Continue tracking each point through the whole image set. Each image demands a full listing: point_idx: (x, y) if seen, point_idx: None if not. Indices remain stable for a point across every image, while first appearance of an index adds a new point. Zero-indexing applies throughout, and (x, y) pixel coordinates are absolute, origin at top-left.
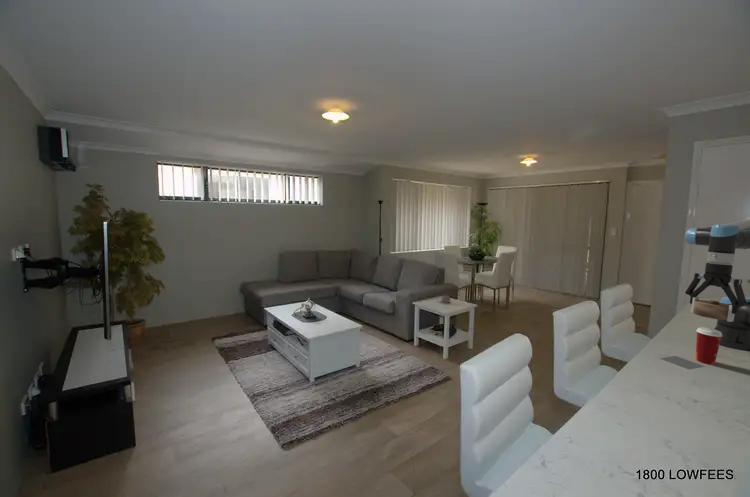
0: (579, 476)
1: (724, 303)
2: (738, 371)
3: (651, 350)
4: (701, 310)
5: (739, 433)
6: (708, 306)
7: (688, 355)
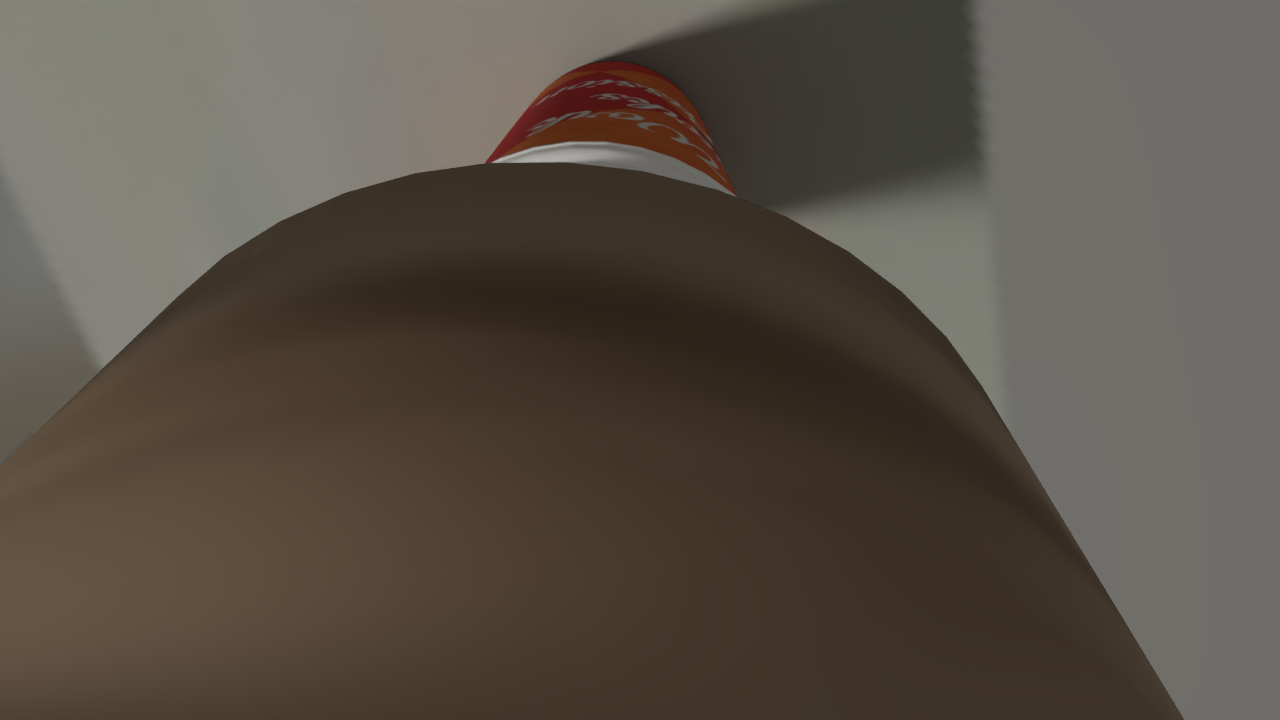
0: None
1: (806, 525)
2: (932, 85)
3: (122, 322)
4: None
5: None
6: None
7: (392, 40)
